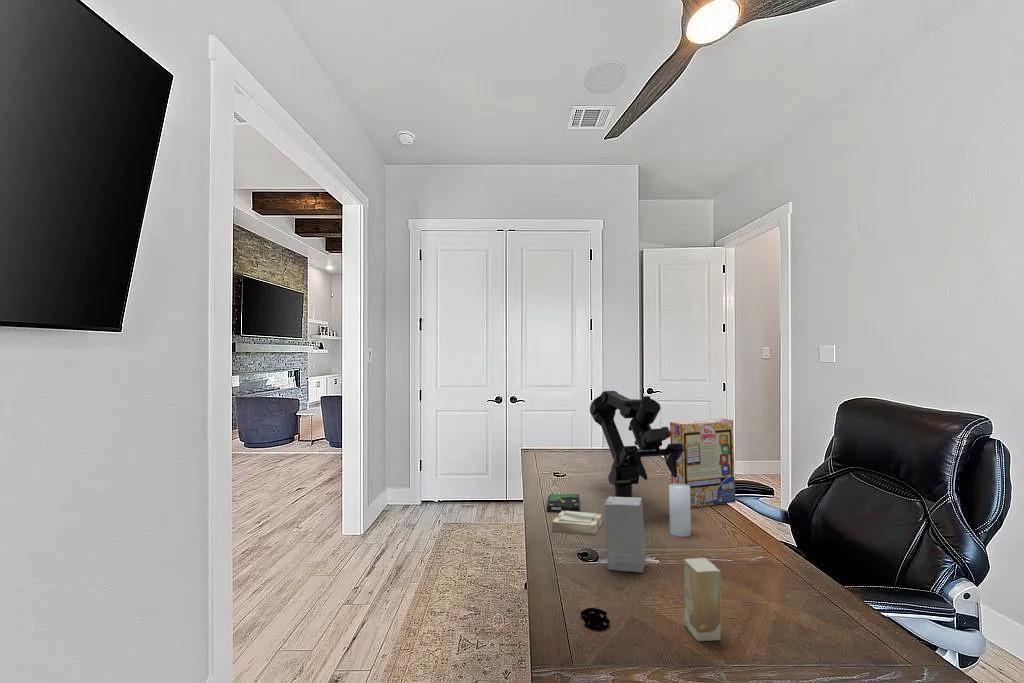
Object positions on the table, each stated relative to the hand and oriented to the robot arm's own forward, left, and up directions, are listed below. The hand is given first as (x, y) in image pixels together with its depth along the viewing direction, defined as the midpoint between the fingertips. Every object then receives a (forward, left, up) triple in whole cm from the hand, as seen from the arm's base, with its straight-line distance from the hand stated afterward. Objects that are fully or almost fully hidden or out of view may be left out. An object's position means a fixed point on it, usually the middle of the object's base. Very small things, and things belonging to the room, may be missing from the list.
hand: (661, 478), depth 165 cm
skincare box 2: (+62, +11, -14) cm, 65 cm away
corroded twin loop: (+63, -8, -14) cm, 65 cm away
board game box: (-27, +11, -14) cm, 32 cm away
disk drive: (-12, -32, -14) cm, 37 cm away
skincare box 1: (+35, -6, -14) cm, 38 cm away
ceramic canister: (+6, +5, -13) cm, 16 cm away
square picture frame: (+8, -23, -13) cm, 28 cm away
